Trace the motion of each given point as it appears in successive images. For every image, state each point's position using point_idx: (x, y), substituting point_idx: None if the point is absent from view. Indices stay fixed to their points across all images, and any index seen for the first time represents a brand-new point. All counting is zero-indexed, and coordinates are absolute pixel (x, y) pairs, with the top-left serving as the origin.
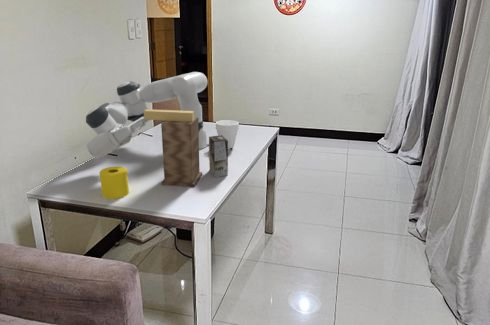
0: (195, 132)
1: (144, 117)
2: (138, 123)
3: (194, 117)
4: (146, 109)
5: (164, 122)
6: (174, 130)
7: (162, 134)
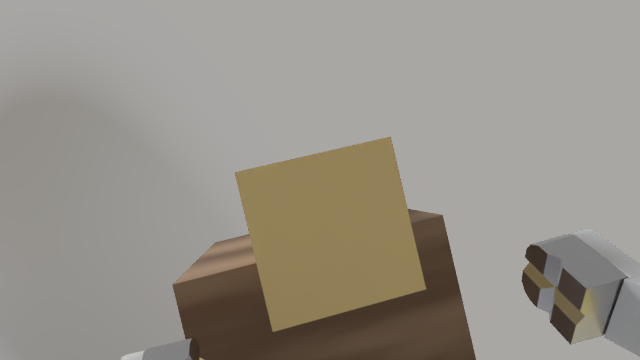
0: None
1: (413, 252)
2: (632, 278)
3: (218, 244)
4: (257, 167)
5: (417, 217)
6: None
7: (463, 314)
